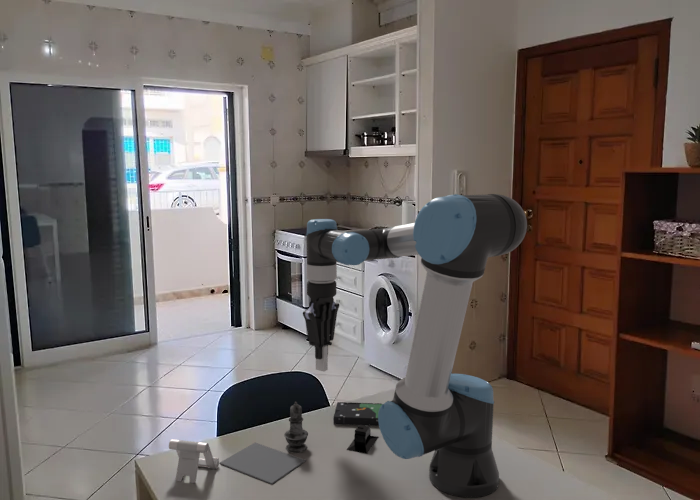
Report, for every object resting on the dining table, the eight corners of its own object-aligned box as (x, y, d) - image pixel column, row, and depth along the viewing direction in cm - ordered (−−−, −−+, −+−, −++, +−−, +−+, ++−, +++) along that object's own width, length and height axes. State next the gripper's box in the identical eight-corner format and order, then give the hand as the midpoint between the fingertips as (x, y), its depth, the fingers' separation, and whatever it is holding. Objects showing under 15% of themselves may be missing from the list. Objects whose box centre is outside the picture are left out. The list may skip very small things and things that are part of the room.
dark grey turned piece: (308, 441, 144) (308, 396, 142) (308, 453, 138) (307, 405, 137) (285, 442, 144) (284, 396, 142) (283, 453, 138) (283, 406, 136)
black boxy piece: (357, 432, 150) (357, 416, 150) (384, 437, 148) (384, 420, 147) (340, 454, 139) (340, 436, 138) (369, 459, 136) (369, 441, 136)
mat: (305, 461, 134) (305, 460, 134) (271, 484, 124) (271, 483, 124) (255, 443, 143) (255, 442, 143) (219, 463, 133) (219, 462, 133)
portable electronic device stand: (219, 466, 132) (217, 432, 131) (203, 484, 125) (201, 448, 123) (185, 462, 134) (183, 428, 133) (167, 479, 126) (165, 444, 125)
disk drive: (333, 426, 154) (388, 428, 153) (333, 417, 153) (388, 418, 152) (336, 410, 164) (388, 411, 163) (336, 401, 164) (388, 402, 163)
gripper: (324, 274, 152) (324, 359, 155) (293, 282, 141) (294, 374, 145) (348, 277, 148) (347, 365, 151) (318, 286, 137) (318, 380, 141)
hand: (321, 369), depth 148 cm, fingers closed
